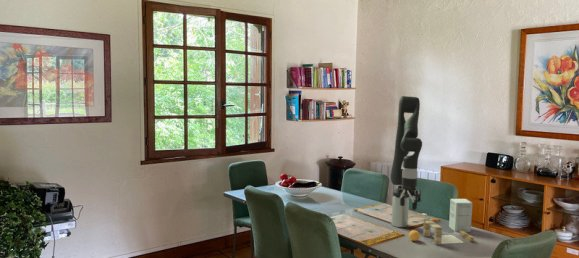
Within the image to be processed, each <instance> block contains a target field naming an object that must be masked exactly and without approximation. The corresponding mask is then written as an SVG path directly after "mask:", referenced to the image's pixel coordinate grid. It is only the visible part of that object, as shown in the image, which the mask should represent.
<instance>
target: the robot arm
mask: <svg viewBox="0 0 579 258" xmlns="http://www.w3.org/2000/svg"><path fill="white" fill-rule="evenodd" d="M420 105H421V103H420V99H419V97H417V96H405V95H401V96H400V98H399V101H398V115H397V118H398V119H397V129H396V136H395V143H394V155H393V161H392V166H391V171H390V182H391V184H392V185H394V186H398V187H397V188H396V189H394V190H393V191H392V206H391V207H392V208H391V225H392V226H394V227H396V228H406V226H407V225H409V204H410V200H411V201H412V204H411V205H412V206H411V209H412V210H413V211H416V210H417V208H418V203H421V191H422V190H420V189H416V188H417V185H418V162H419V156H420V153H421V151H422V148H423V141H422V140H421V139H420V138H419V137H418V136H419V128H418V127H419V126H418V124H419V118H420V108H421V107H420ZM405 114H411V115H410V117H408V119H406V118H405ZM410 152H412V153H413V154H412V155H409V153H410ZM407 227H408V226H407Z"/></svg>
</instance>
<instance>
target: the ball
mask: <svg viewBox="0 0 579 258" xmlns="http://www.w3.org/2000/svg"><path fill="white" fill-rule="evenodd" d="M408 237H409V239H410V240H411V241H413V242H417V241H419V240H420V237H421V236H420V232H419V231H417V230H413V229H412V230H410V232H409V233H408Z"/></svg>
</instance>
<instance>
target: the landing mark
mask: <svg viewBox="0 0 579 258" xmlns="http://www.w3.org/2000/svg"><path fill="white" fill-rule="evenodd" d="M431 237H432V238H434V235H431ZM464 243H465V242H463V241H462V240H461V239H460V238H458V237H456V236H454V235H453V234H447V235H446V234H445V235H443V234H442V239H441V245H442V244H443V245H444V244H445V245H446V244H447V245H448V244H450V245H451V244H464Z"/></svg>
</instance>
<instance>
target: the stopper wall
mask: <svg viewBox="0 0 579 258" xmlns="http://www.w3.org/2000/svg"><path fill="white" fill-rule="evenodd" d="M458 233H459V236H460V237H461V238H463V239H464V240H466V241H468V242H469V243H475V237H474V236H473V235H471V234H469V233H467V232H464V231H460V232H458Z"/></svg>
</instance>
